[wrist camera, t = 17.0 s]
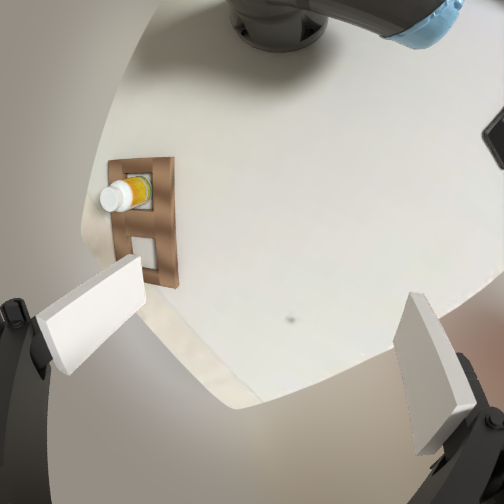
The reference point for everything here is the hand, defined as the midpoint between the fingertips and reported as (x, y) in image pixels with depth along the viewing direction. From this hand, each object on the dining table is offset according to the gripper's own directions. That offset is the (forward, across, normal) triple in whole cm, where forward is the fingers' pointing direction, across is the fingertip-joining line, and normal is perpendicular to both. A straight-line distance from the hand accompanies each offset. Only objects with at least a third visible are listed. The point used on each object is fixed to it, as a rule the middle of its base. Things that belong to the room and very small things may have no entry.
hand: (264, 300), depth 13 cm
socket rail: (+32, -29, -7) cm, 44 cm away
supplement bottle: (+32, -29, -1) cm, 43 cm away
